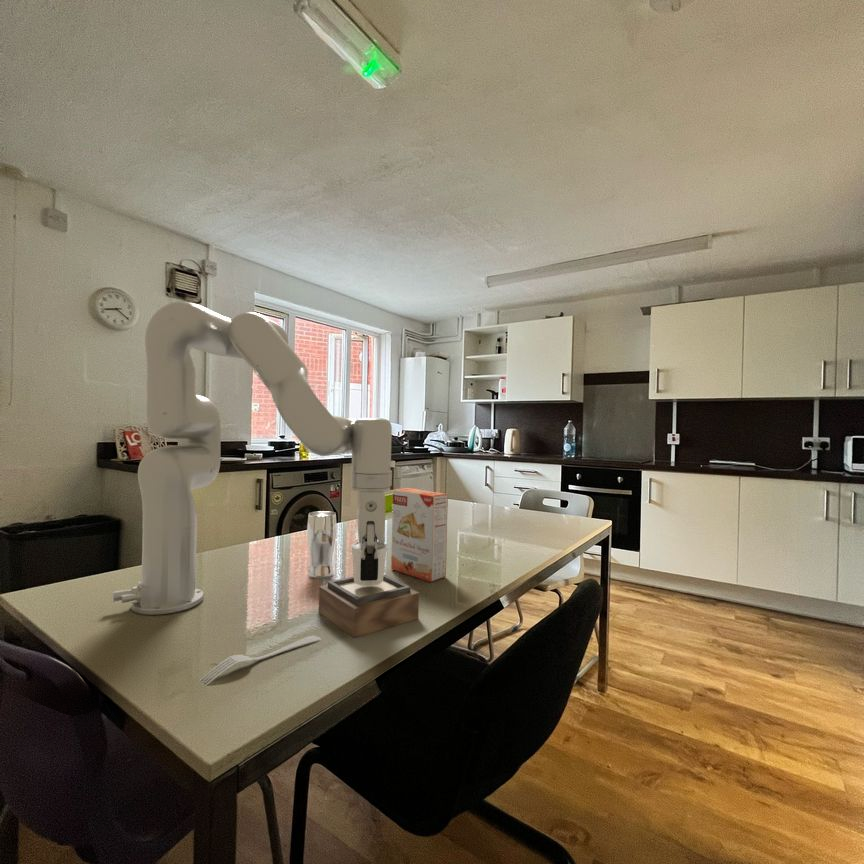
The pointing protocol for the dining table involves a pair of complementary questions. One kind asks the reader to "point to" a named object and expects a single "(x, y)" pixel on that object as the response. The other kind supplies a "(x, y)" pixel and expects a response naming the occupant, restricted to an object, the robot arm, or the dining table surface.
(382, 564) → the white cylinder
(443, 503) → the cracker box
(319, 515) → the beer glass
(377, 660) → the dining table surface
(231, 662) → the fork
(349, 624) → the display plinth
